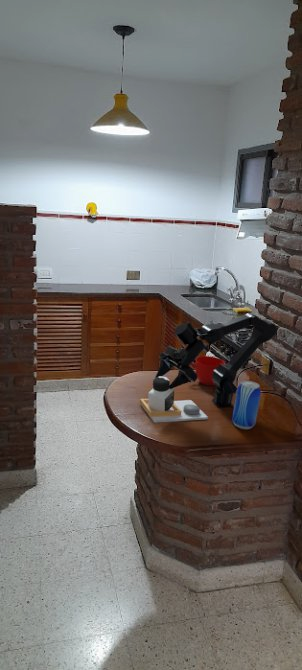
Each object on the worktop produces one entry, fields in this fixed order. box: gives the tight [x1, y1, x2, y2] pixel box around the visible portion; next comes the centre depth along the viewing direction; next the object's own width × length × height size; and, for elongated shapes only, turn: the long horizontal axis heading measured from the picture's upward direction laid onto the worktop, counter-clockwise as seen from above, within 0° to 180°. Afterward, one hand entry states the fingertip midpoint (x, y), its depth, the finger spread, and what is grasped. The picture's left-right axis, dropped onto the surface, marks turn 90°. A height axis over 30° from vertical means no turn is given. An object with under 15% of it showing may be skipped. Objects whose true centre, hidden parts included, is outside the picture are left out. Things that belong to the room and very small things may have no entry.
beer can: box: [231, 380, 262, 430], centre depth 177 cm, size 8×8×16 cm
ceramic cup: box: [190, 355, 226, 386], centre depth 215 cm, size 13×17×10 cm
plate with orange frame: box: [139, 398, 209, 424], centre depth 183 cm, size 22×15×2 cm
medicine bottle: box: [147, 375, 175, 411], centre depth 180 cm, size 7×7×12 cm
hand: (162, 383), depth 180 cm, fingers open, 9 cm apart
